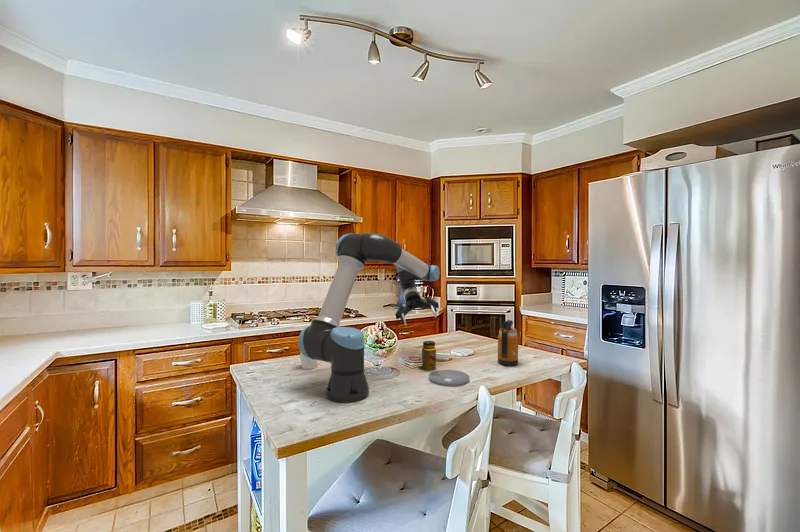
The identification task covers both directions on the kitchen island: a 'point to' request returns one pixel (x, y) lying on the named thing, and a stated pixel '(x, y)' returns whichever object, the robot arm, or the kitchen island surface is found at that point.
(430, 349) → the condiment
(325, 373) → the kitchen island surface
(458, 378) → the trivet
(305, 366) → the white cup
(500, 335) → the canister
